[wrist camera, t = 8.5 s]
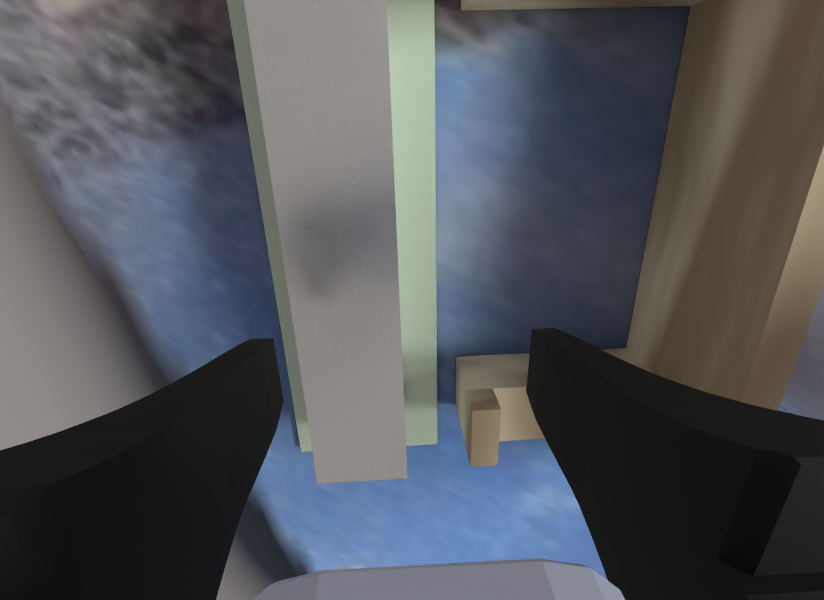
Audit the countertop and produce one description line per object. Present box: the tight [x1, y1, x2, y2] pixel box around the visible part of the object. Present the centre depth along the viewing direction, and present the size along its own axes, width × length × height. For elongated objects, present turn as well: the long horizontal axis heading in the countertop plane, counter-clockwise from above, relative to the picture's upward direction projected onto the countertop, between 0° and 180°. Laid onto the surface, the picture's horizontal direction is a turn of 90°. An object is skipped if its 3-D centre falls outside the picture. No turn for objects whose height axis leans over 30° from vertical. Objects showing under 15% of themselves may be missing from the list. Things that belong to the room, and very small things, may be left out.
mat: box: [227, 0, 437, 452], centre depth 18 cm, size 8×26×1 cm, turn 2°
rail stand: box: [456, 0, 824, 467], centre depth 15 cm, size 10×26×7 cm, turn 2°
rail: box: [244, 0, 407, 484], centre depth 16 cm, size 4×22×4 cm, turn 2°
